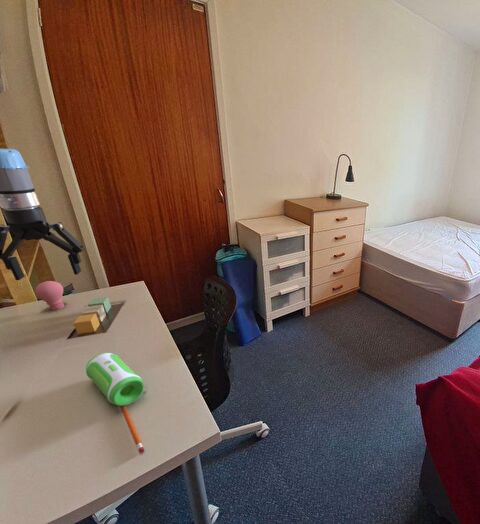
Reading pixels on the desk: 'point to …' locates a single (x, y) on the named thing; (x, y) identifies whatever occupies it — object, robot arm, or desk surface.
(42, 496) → the desk surface
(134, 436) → the pencil
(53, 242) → the robot arm
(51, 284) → the light bulb
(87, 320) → the orange cube
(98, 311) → the beige cube
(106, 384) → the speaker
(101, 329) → the board
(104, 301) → the green cube
